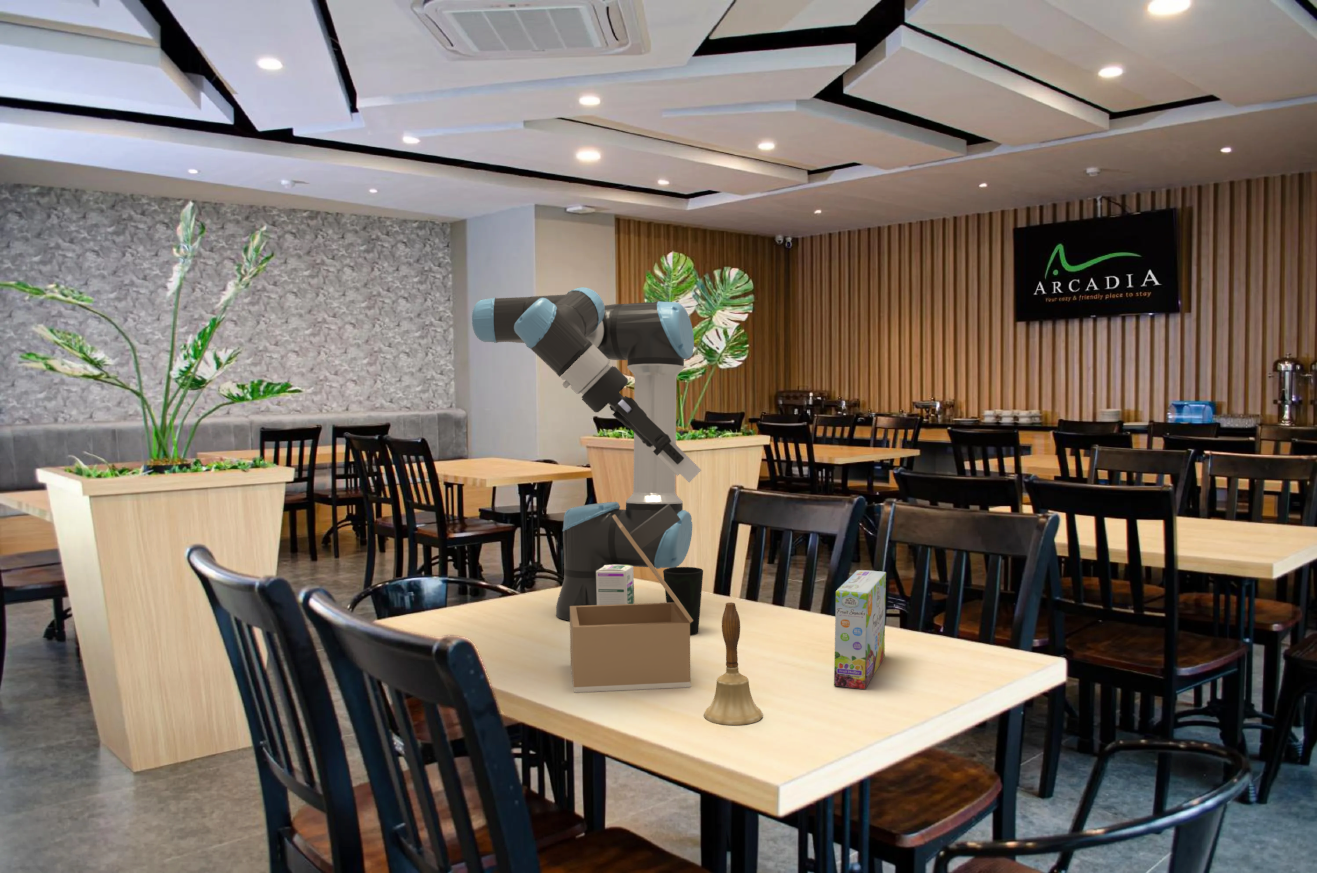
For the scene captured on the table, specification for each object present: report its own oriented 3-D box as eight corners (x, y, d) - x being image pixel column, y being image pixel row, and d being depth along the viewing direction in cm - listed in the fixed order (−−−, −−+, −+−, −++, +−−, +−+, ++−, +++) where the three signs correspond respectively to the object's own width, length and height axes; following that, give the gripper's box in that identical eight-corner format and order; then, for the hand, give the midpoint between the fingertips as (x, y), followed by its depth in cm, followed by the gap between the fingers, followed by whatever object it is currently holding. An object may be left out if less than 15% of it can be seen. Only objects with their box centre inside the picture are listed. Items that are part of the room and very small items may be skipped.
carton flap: (619, 528, 150) (664, 494, 150) (611, 516, 166) (652, 485, 167) (690, 623, 152) (734, 589, 152) (675, 601, 168) (715, 571, 168)
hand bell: (705, 726, 134) (704, 609, 133) (702, 707, 142) (701, 597, 142) (766, 725, 134) (765, 609, 133) (759, 706, 142) (758, 597, 142)
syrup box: (628, 650, 175) (627, 569, 175) (596, 649, 176) (595, 568, 176) (635, 643, 181) (634, 564, 180) (604, 641, 182) (603, 563, 181)
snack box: (869, 691, 149) (869, 592, 149) (832, 687, 151) (832, 590, 151) (887, 656, 169) (887, 569, 169) (854, 654, 171) (854, 568, 171)
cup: (697, 638, 184) (696, 574, 183) (658, 635, 186) (657, 572, 186) (708, 629, 191) (707, 567, 191) (671, 626, 193) (670, 566, 193)
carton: (573, 692, 150) (572, 627, 150) (570, 664, 166) (569, 606, 165) (690, 687, 152) (689, 622, 152) (676, 660, 168) (675, 602, 168)
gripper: (576, 397, 169) (663, 483, 171) (581, 396, 144) (683, 497, 147) (607, 366, 170) (693, 452, 172) (617, 360, 145) (718, 461, 147)
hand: (689, 473), depth 159 cm, fingers open, 13 cm apart
